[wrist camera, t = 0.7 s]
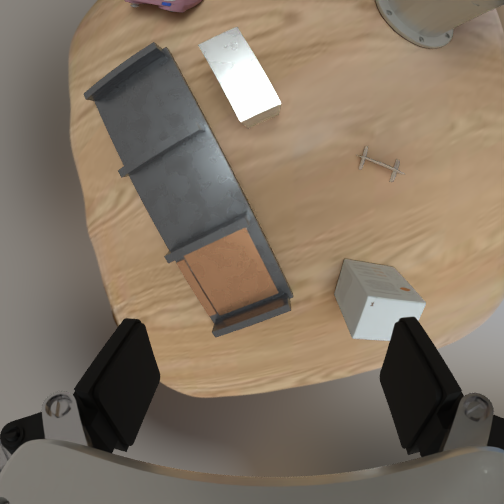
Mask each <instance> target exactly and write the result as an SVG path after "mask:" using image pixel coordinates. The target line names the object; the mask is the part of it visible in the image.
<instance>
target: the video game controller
mask: <svg viewBox="0 0 504 504" xmlns="http://www.w3.org/2000/svg"><path fill="white" fill-rule="evenodd" d="M124 1H125V2H129V3H132V4H133V5H131V6H132V7H138V6H139V4H142V3H143V4H154V5H159V8H161V9H164V10H167V11H172V12H185V10H187V9H190V8H192V7H194V6H196V5H197V4H199V3H200V2H201V1H202V0H124Z"/></svg>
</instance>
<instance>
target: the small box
mask: <svg viewBox="0 0 504 504" xmlns="http://www.w3.org/2000/svg"><path fill="white" fill-rule="evenodd" d="M334 295H335V297H336V300H337V302H338V305H339V307H340V310H341V312H342V314H343V317H344V319H345V322H346V324H347V327H348V329H349V332H350V334H351V337H352V338H353V339H365V340H382V341H390V339H391V335H392V332H393V328H394V324H395V323H396V322H398V321H399V319H400V318H403V317H415V318H416V319H417V320H419V318H420V316H421V314H422V312H423V309H424V307H425V305H426V302H425V301H424V300H423V299H422V297H421V296H420V295H419V294H418V293H417V292H416V291H415V290H414V288H413V287H412V286H411V285H410V284H409V283H408V282H407V281H406V280H405V279H404V277H403V276H402V275H401V274H400V273H399V272H398V271H397V270H396V269H395V268H394V267H391V266H385V265H379V264H373V263H367V262H361V261H355V260H349V259H344V262H343V266H342V269H341V273H340V276H339V280H338V283H337V286H336V290H335V293H334Z"/></svg>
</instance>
